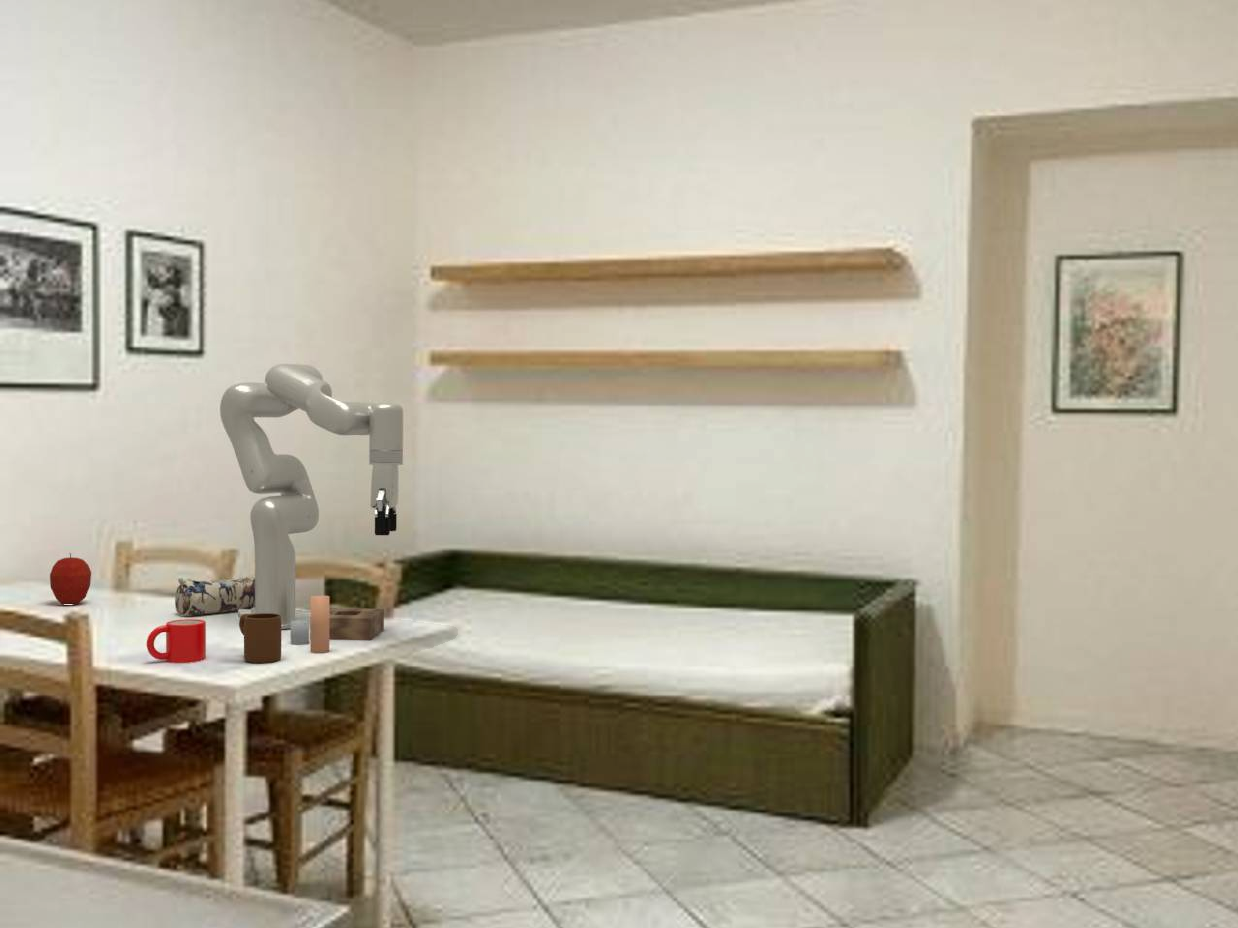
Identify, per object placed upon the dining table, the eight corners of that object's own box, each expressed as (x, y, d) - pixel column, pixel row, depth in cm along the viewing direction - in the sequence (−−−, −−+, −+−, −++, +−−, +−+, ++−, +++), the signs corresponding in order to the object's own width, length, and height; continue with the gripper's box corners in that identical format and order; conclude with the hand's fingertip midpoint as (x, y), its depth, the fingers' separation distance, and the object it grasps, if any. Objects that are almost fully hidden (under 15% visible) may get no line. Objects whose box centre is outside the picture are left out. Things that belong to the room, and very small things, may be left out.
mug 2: (225, 657, 261) (225, 613, 261) (256, 652, 267) (256, 609, 267) (257, 665, 253) (257, 620, 253) (288, 660, 259) (288, 615, 259)
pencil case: (186, 619, 308) (186, 580, 308) (172, 614, 314) (172, 576, 314) (267, 610, 323) (267, 573, 323) (252, 606, 329) (252, 570, 329)
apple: (97, 604, 328) (97, 552, 327) (58, 608, 321) (58, 555, 320) (82, 600, 335) (82, 549, 335) (44, 604, 328) (43, 552, 327)
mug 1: (140, 660, 257) (140, 623, 256) (197, 654, 265) (197, 617, 264) (154, 667, 251) (153, 628, 250) (211, 660, 258) (211, 622, 258)
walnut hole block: (310, 639, 283) (310, 617, 283) (326, 628, 297) (326, 607, 297) (370, 640, 283) (370, 618, 283) (383, 629, 297) (384, 608, 297)
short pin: (288, 644, 276) (288, 622, 276) (293, 641, 280) (293, 619, 280) (306, 645, 276) (306, 622, 276) (310, 641, 280) (311, 619, 280)
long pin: (308, 652, 267) (308, 597, 267) (313, 649, 271) (313, 595, 271) (326, 653, 267) (326, 598, 266) (331, 649, 271) (331, 595, 270)
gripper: (376, 456, 289) (375, 529, 289) (362, 459, 271) (362, 536, 272) (408, 456, 289) (408, 529, 289) (396, 459, 271) (396, 537, 272)
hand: (385, 533), depth 281 cm, fingers open, 9 cm apart
